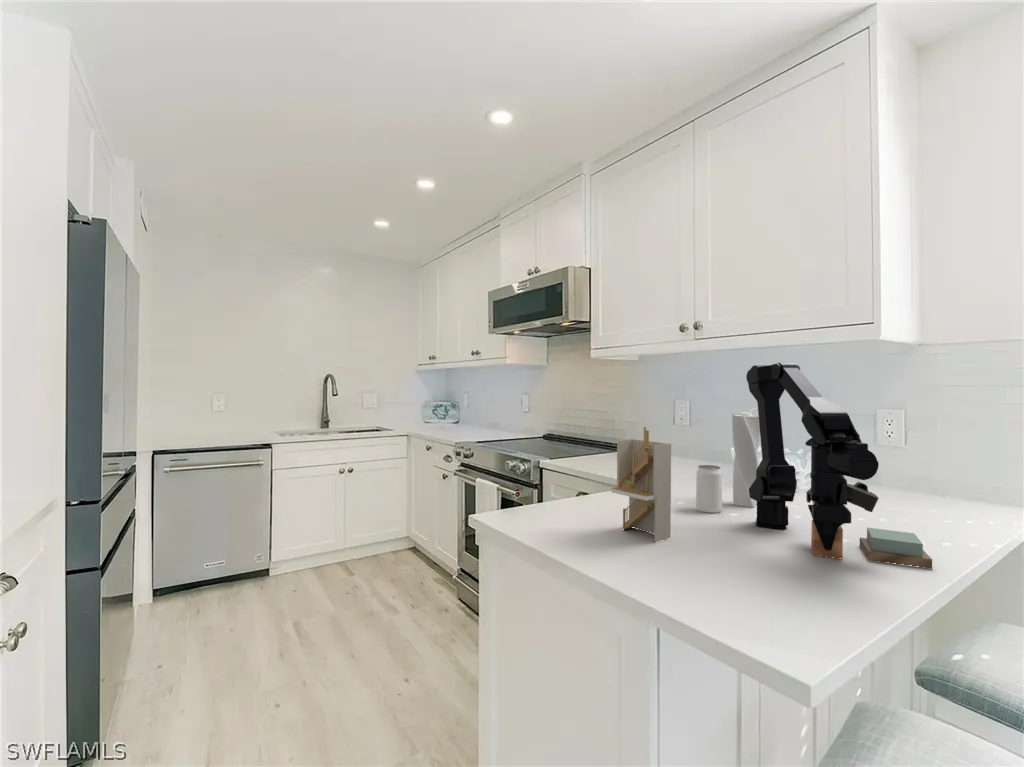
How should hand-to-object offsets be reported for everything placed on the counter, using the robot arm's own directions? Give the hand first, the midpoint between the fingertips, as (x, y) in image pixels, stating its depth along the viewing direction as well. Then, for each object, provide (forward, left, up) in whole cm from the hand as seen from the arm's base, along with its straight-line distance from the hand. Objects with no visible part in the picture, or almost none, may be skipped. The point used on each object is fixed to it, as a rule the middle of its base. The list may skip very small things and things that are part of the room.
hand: (826, 546), depth 105 cm
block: (0, 0, -2) cm, 2 cm away
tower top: (+12, +4, 0) cm, 13 cm away
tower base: (+12, +4, -2) cm, 13 cm away
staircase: (-37, -4, -2) cm, 37 cm away
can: (-25, +26, -2) cm, 36 cm away
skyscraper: (-16, +38, -2) cm, 41 cm away
